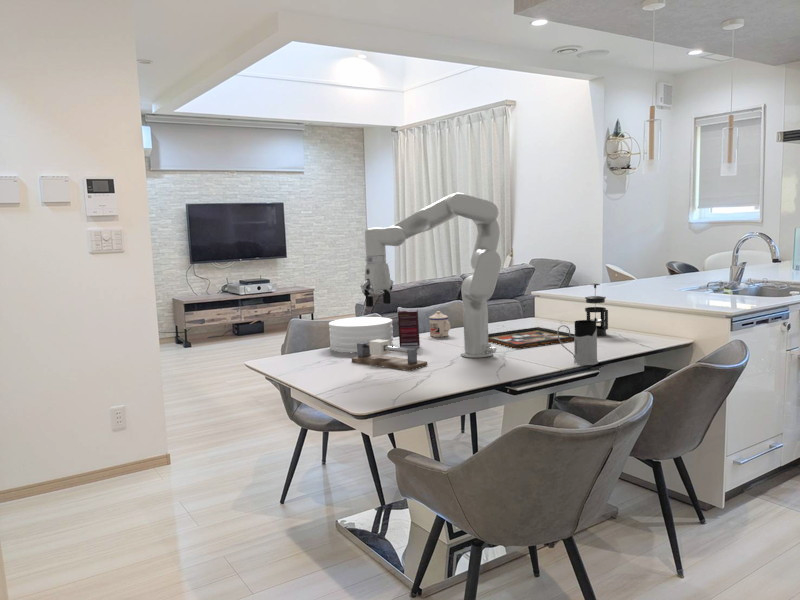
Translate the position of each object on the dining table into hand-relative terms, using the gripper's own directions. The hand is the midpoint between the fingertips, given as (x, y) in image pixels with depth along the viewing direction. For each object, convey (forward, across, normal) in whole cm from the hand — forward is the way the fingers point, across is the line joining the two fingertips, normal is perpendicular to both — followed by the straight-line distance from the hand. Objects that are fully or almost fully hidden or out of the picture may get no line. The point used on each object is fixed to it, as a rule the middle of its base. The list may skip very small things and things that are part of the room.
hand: (378, 305), depth 242 cm
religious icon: (+24, +69, -24) cm, 77 cm away
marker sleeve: (+19, 0, 0) cm, 19 cm away
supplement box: (+23, +30, +11) cm, 39 cm away
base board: (+22, 0, -4) cm, 23 cm away
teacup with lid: (+23, +59, +16) cm, 65 cm away
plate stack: (+23, +20, +31) cm, 43 cm away
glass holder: (+23, +36, -64) cm, 77 cm away
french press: (+23, +93, -46) cm, 106 cm away
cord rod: (+21, 0, -3) cm, 21 cm away
